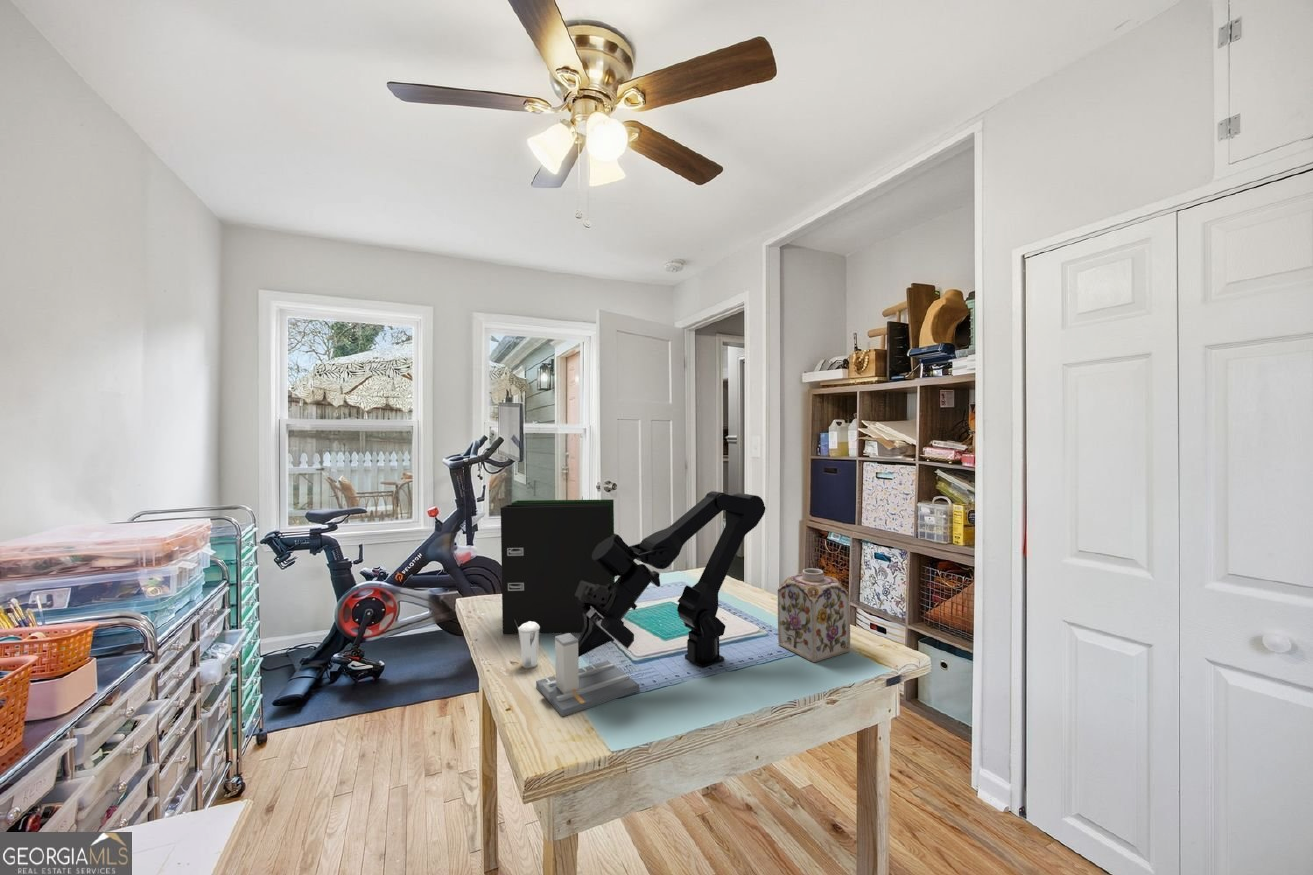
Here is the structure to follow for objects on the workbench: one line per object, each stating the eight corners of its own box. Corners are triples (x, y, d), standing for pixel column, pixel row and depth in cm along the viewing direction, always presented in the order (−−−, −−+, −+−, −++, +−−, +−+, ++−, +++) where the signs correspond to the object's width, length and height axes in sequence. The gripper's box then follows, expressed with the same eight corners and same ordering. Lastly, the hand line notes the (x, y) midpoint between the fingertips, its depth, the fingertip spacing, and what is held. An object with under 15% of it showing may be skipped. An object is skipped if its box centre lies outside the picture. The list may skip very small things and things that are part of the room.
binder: (615, 613, 142) (613, 499, 142) (610, 634, 128) (608, 506, 127) (518, 614, 143) (516, 500, 142) (501, 635, 128) (499, 508, 128)
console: (607, 665, 110) (607, 653, 110) (639, 690, 99) (639, 676, 99) (533, 687, 101) (533, 674, 101) (559, 717, 90) (559, 702, 90)
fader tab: (570, 681, 100) (569, 632, 100) (578, 689, 97) (578, 639, 97) (555, 685, 99) (555, 636, 99) (564, 694, 95) (563, 643, 95)
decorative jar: (852, 652, 115) (851, 572, 115) (814, 664, 109) (813, 580, 109) (812, 634, 126) (811, 561, 125) (776, 644, 120) (775, 568, 120)
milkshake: (517, 661, 113) (516, 616, 113) (541, 659, 114) (541, 614, 113) (513, 670, 109) (512, 623, 108) (538, 669, 109) (538, 622, 109)
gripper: (584, 556, 110) (534, 616, 105) (617, 577, 93) (559, 650, 88) (619, 587, 113) (571, 646, 108) (656, 613, 97) (602, 684, 92)
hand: (575, 655), depth 99 cm, fingers closed
